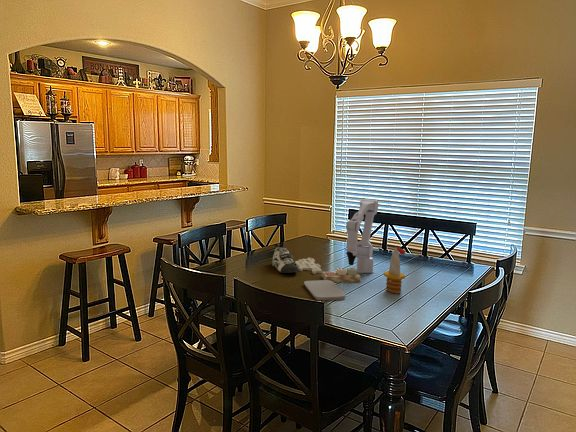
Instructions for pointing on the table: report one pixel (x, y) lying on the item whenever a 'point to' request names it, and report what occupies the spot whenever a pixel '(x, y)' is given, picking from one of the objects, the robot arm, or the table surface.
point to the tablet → (324, 290)
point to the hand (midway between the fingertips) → (351, 264)
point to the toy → (394, 272)
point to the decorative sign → (308, 265)
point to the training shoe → (284, 261)
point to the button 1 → (351, 271)
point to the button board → (341, 277)
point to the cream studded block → (341, 271)
